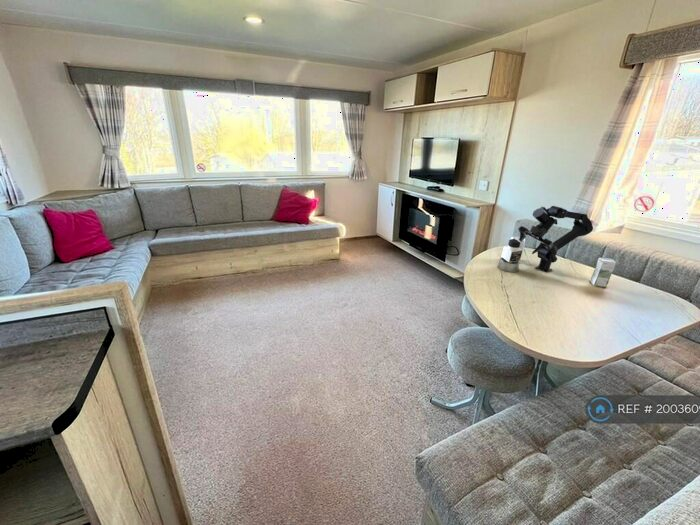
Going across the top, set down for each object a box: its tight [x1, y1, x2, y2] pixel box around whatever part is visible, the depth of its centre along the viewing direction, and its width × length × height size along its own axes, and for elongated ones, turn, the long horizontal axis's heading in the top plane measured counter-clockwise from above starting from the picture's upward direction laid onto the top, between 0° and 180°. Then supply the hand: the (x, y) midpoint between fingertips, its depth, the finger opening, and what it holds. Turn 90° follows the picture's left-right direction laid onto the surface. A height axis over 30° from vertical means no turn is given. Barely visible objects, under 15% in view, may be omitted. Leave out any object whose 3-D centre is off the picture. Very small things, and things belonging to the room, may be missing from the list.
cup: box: [510, 236, 526, 260], centre depth 193 cm, size 8×8×14 cm
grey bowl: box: [497, 257, 521, 273], centre depth 181 cm, size 10×10×5 cm
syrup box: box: [589, 257, 617, 288], centre depth 163 cm, size 6×6×14 cm
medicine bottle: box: [500, 238, 524, 262], centre depth 176 cm, size 7×7×12 cm
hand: (524, 249), depth 174 cm, fingers open, 9 cm apart
